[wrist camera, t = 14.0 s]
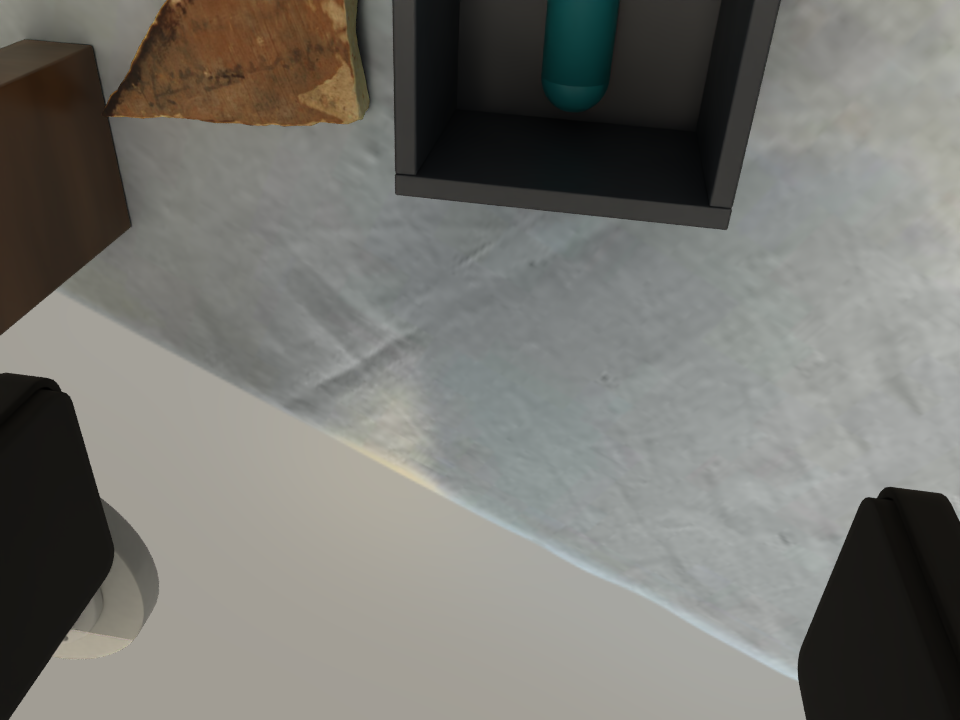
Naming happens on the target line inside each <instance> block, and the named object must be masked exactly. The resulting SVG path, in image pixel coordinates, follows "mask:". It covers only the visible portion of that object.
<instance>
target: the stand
mask: <svg viewBox="0 0 960 720" xmlns="http://www.w3.org/2000/svg"><path fill="white" fill-rule="evenodd" d="M104 108H105V104H104V99H103V94H102V90H101V85H100V80H99V76H98V71H97V67H96V62H95V57H94V53H93V48H92V46H90V45H81V44H70V43H58V42H47V41H36V40H25V39H24V40H22V41H19V42H16V43H14V44H11V45H8V46H6V47H3V48H1V49H0V335H1V334H3V333H4V332H5V331H6V330H8V329H9V328H10V327H11V326H12V325H14V324H15V323H16V322H17V321H18V320H20V319H21V318H22V317H23V316H24V315H26V314H27V313H28V312H29V311H30V310H31V309H33V308H34V307H35V306H36V305H38V304H39V303H40V302H41V301H42V300H44V299H45V298H46V297H47V296H48V295H50V294H51V293H52V292H53V291H55V290H56V289H57V288H58V287H59V286H61V285H62V284H63V283H64V282H65V281H67V280H68V279H69V278H70V277H71V276H73V275H74V274H75V273H76V272H77V271H79V270H80V269H81V268H82V267H83V266H85V265H86V264H87V263H88V262H89V261H91V260H92V259H93V258H94V257H95V256H97V255H98V254H99V253H100V252H101V251H103V250H104V249H105V248H106V247H107V246H109V245H110V244H111V243H112V242H114V241H115V240H116V239H117V238H118V237H120V236H121V235H122V234H123V233H124V232H126V231H127V230H128V229H129V228H130V227H131V224H130V219H129V215H128V210H127V206H126V201H125V196H124V192H123V187H122V182H121V178H120V173H119V168H118V164H117V159H116V155H115V150H114V145H113V141H112V136H111V131H110V127H109V122H108V118H107V117H103V116H102V115H101V113H102V112H103V110H104Z"/></svg>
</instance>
